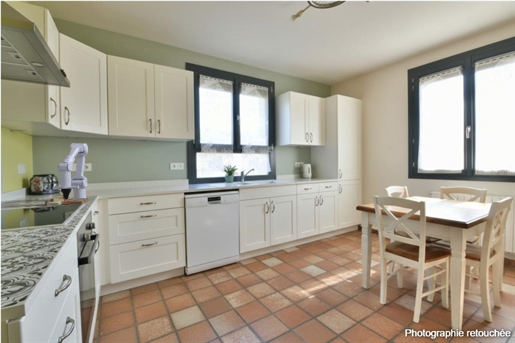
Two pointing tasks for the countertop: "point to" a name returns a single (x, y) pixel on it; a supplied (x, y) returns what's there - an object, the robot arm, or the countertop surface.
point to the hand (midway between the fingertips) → (66, 199)
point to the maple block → (59, 198)
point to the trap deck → (66, 202)
